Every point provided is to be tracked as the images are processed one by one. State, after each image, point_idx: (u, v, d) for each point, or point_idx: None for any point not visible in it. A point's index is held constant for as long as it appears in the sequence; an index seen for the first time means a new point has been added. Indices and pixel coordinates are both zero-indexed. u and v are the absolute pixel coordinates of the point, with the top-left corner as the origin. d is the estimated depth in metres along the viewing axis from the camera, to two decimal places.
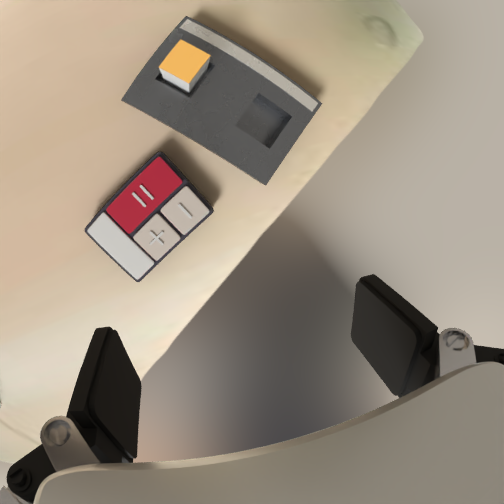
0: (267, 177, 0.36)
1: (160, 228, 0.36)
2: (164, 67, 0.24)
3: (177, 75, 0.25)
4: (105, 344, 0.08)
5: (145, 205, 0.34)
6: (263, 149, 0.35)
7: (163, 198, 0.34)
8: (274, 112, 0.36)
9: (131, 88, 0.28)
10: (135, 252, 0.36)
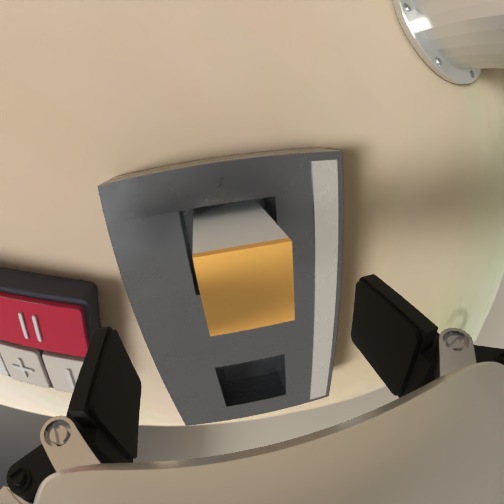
0: (195, 422, 0.23)
1: (32, 366, 0.17)
2: (200, 269, 0.11)
3: (206, 307, 0.12)
4: (105, 344, 0.08)
5: (27, 338, 0.16)
6: (219, 404, 0.22)
7: (53, 350, 0.17)
8: (274, 360, 0.25)
9: (129, 184, 0.14)
10: None
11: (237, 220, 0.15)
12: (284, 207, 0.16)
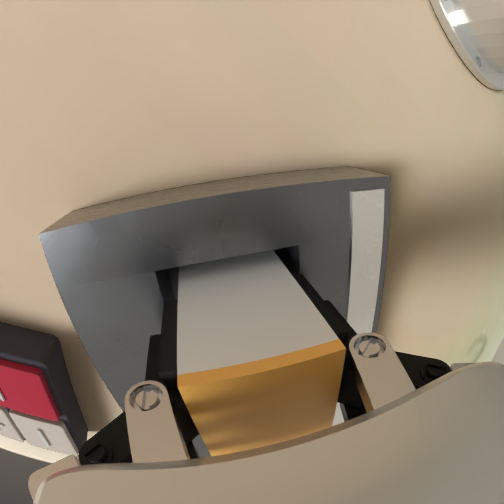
0: None
1: (1, 421, 0.11)
2: (193, 400, 0.06)
3: (205, 436, 0.07)
4: None
5: None
6: None
7: (19, 410, 0.11)
8: None
9: (80, 232, 0.09)
10: None
11: (245, 289, 0.09)
12: (312, 260, 0.11)
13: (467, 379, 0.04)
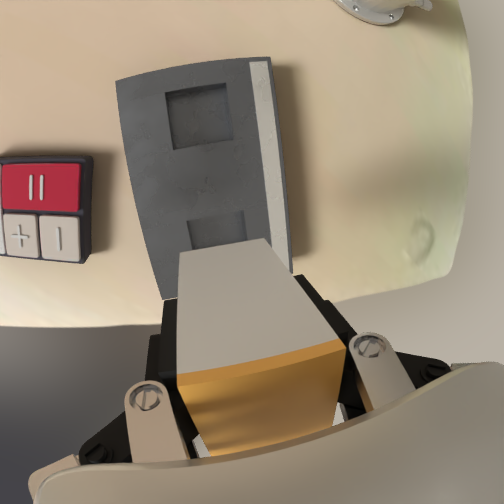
0: (170, 294, 0.28)
1: (28, 231, 0.22)
2: (193, 400, 0.06)
3: (205, 436, 0.07)
4: None
5: (31, 199, 0.21)
6: None
7: (50, 208, 0.22)
8: (241, 236, 0.30)
9: (135, 78, 0.20)
10: None
11: (245, 288, 0.09)
12: (233, 89, 0.22)
13: (467, 379, 0.04)
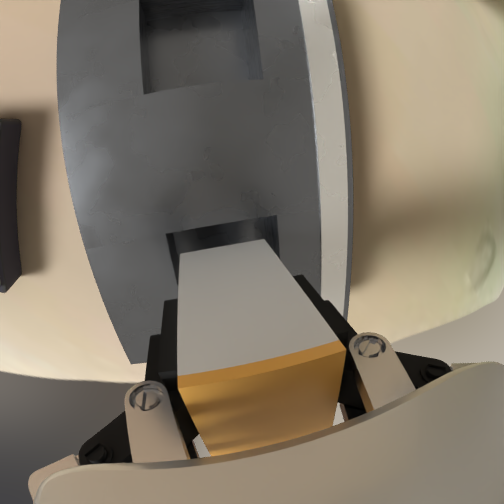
0: (143, 357, 0.15)
1: None
2: (194, 401, 0.06)
3: (206, 437, 0.07)
4: None
5: None
6: None
7: None
8: None
9: None
10: None
11: (245, 290, 0.09)
12: None
13: (467, 379, 0.04)
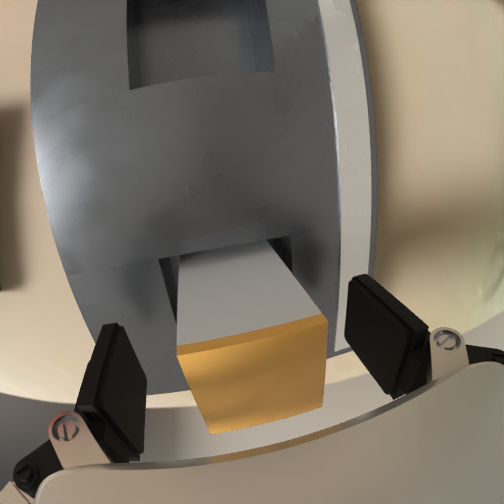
0: None
1: None
2: (191, 369, 0.07)
3: (203, 408, 0.08)
4: (113, 340, 0.08)
5: None
6: (173, 352, 0.13)
7: None
8: None
9: None
10: None
11: (240, 274, 0.10)
12: None
13: (467, 379, 0.04)
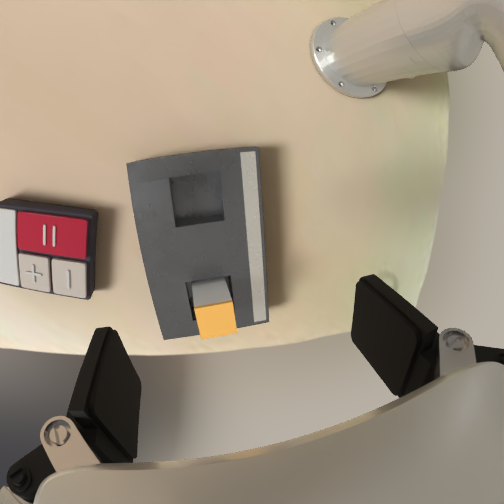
0: (170, 336, 0.34)
1: (42, 270, 0.27)
2: (197, 313, 0.28)
3: (199, 327, 0.29)
4: (105, 344, 0.08)
5: (45, 244, 0.26)
6: (187, 317, 0.34)
7: (61, 254, 0.28)
8: None
9: (143, 163, 0.27)
10: (12, 263, 0.26)
11: (212, 288, 0.32)
12: (225, 177, 0.29)
13: (467, 379, 0.04)
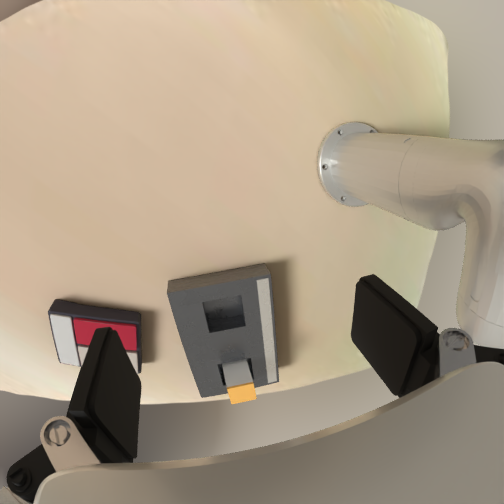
0: (206, 395, 0.44)
1: None
2: (229, 391, 0.38)
3: (230, 398, 0.39)
4: (105, 344, 0.08)
5: None
6: (219, 384, 0.44)
7: None
8: (248, 361, 0.47)
9: (181, 292, 0.36)
10: (72, 352, 0.36)
11: (237, 369, 0.42)
12: (245, 298, 0.39)
13: (467, 379, 0.04)
